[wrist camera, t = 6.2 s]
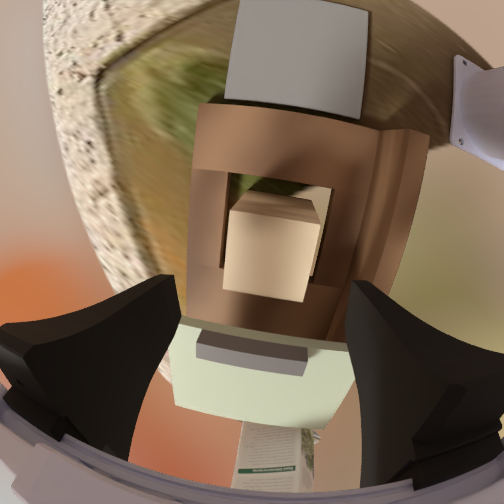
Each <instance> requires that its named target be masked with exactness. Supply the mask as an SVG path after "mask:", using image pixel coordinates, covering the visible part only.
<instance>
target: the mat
mask: <svg viewBox="0 0 504 504" xmlns="http://www.w3.org/2000/svg"><path fill="white" fill-rule="evenodd" d="M367 34H368V11H364V10H361V9H357V8H353V7H349V6H345V5H341V4H336V3H331V2H326V1H321V0H240V5H239V10H238V15H237V21H236V26H235V32H234V38H233V43H232V49H231V56H230V62H229V68H228V75H227V82H226V89H225V96H224V99H226V100H239V101H250V102H260V103H269V104H277V105H284V106H291V107H297V108H303V109H309V110H314V111H319V112H324V113H329V114H334V115H338V116H343V117H347V118H351V119H355V120H359V119H360V113H361V105H362V97H363V87H364V77H365V66H366V52H367Z"/></svg>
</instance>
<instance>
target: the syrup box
mask: <svg viewBox="0 0 504 504" xmlns="http://www.w3.org/2000/svg"><path fill="white" fill-rule="evenodd" d="M313 446H314V441H313V429H306V428H294V427H284V426H275V425H267V424H260V423H254V422H248V421H243V424H242V430H241V436H240V441H239V447H238V452H237V458H236V463H235V469H234V474H233V479H232V484H231V488H235V489H244V490H254V491H266V492H294V493H301V492H313V487H314V484H313V482H314V462H313V461H314V460H313V457H314V449H313V448H314V447H313Z"/></svg>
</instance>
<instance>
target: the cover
mask: <svg viewBox="0 0 504 504" xmlns="http://www.w3.org/2000/svg"><path fill="white" fill-rule="evenodd" d="M181 316H182V315H181ZM168 349H169V359H170V368H171V377H172V385H173V392H174V399H175V405H178V406H181V407H184V408H188V409H192V410H196V411H200V412H204V413H208V414H212V415H217V416H221V417H226V418H231V419H236V420H242V421H248V422H254V423H260V424H267V425H275V426H284V427H294V428H306V429H322V430H324V428H325V427H326V425H327V424H328V422H329V421H330V419H331V418H332V416H333V415H334V413H335V411H336V410H337V409H338V407H339V405H340V403H341V402H342V400H343V399H344V397H345V395H346V394H347V392H348V390H349V389H350V387H351V385H352V383H353V382H354V380H355V376H354V372H353V368H352V364H351V360H350V356H349V352H348V348H347V343H341V342H332V341H323V340H315V339H307V338H300V337H293V336H286V335H280V334H273V333H267V332H261V331H256V330H250V329H244V328H239V327H234V326H229V325H224V324H219V323H214V322H209V321H204V320H200V319H195V318H191V317H186V316H182V317H181V320H180V323H179V325H178V328H177V331H176V333H175V336H174V338H173V340H172V342H171V344H170V345H169V347H168Z"/></svg>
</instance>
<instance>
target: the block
mask: <svg viewBox="0 0 504 504" xmlns="http://www.w3.org/2000/svg"><path fill="white" fill-rule="evenodd" d="M320 226H321V224H320V221H319V219H318V216H317V214H316V211H315V208H314V206H313V203H312V201H311V200H307V199H302V198H296V197H290V196H284V195H278V194H271V193H265V192H258V191H251V190H247V191H246V192H245V193H244V194H243V196H242V197H241V198H240V199H239V200H238V201H237V202H236V204H235V205H234V206H233V207H232V208H231V209H230V214H229V224H228V234H227V244H226V255H225V266H224V278H223V289H226V290H232V291H237V292H243V293H248V294H254V295H260V296H266V297H272V298H278V299H284V300H291V301H297V302H303V299H304V295H305V291H306V287H307V283H308V279H309V275H310V271H311V267H312V262H313V258H314V254H315V249H316V245H317V240H318V236H319V231H320Z"/></svg>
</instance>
